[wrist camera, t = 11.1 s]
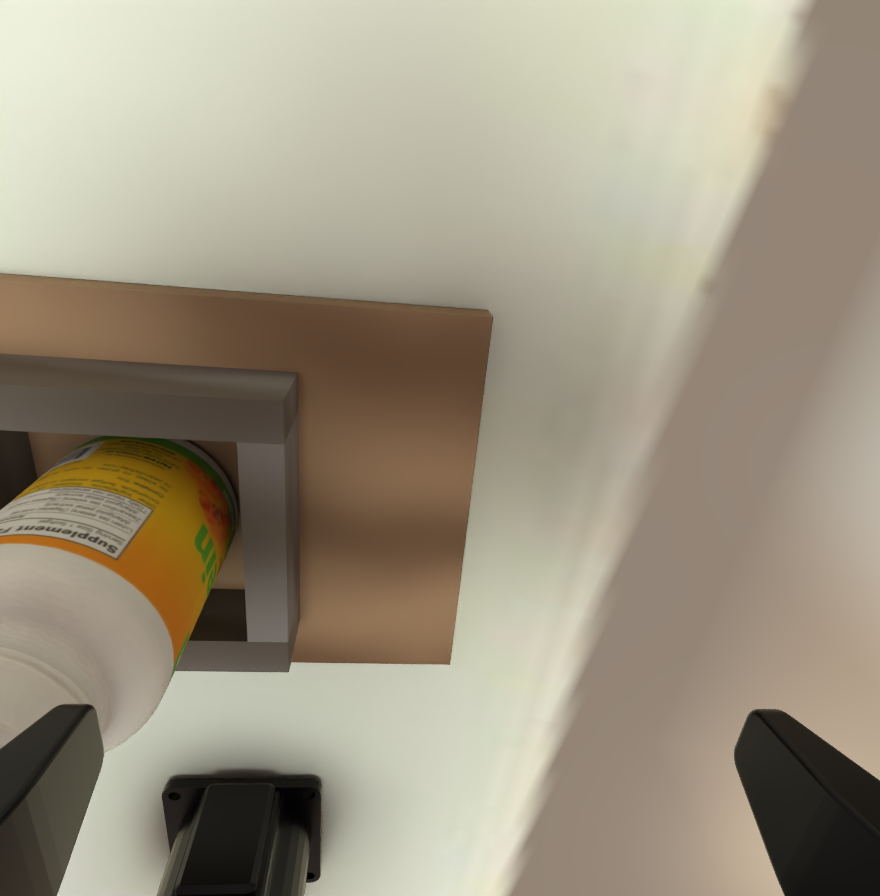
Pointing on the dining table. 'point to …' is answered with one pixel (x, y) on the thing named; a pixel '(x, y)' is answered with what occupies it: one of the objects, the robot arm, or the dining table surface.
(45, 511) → the supplement bottle
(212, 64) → the dining table surface
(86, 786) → the robot arm
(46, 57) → the dining table surface
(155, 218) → the dining table surface
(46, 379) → the can holder
